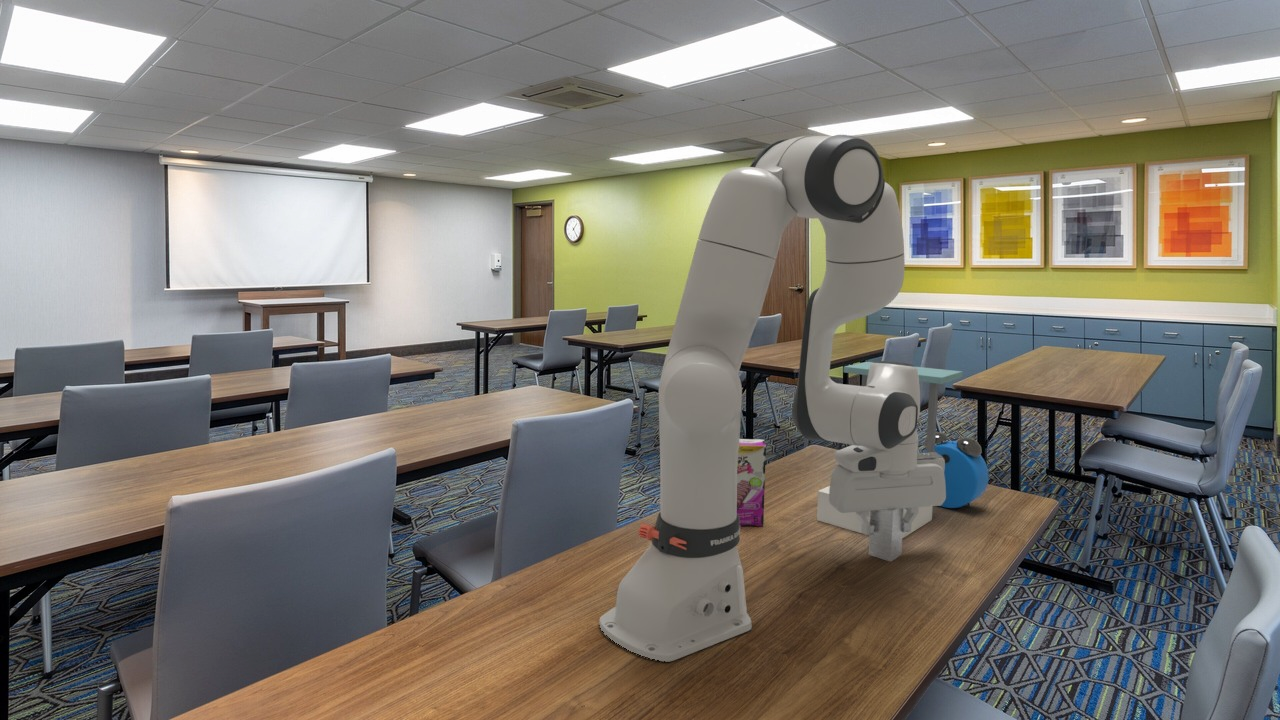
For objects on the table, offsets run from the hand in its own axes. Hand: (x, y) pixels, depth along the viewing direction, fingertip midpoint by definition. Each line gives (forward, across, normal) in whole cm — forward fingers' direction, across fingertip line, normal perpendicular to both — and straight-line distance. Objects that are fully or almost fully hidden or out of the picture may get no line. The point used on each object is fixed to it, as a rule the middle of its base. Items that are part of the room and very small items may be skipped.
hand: (886, 532), depth 118 cm
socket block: (+4, -9, -17) cm, 20 cm away
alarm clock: (+4, -26, -20) cm, 33 cm away
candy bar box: (+4, +21, -20) cm, 29 cm away
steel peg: (+4, 0, 0) cm, 4 cm away
